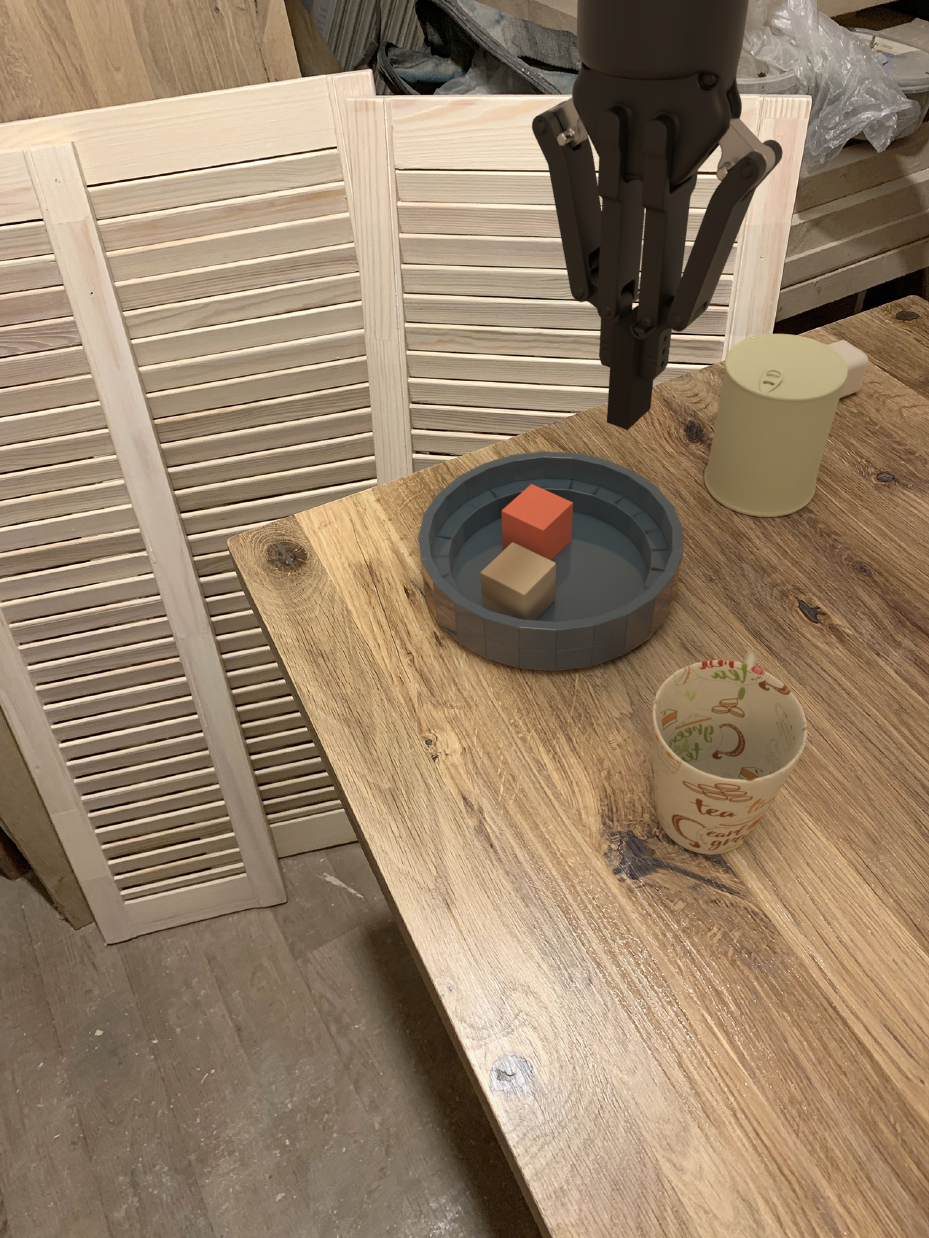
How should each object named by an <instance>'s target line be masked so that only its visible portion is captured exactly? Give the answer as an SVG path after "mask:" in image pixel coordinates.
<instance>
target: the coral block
mask: <svg viewBox="0 0 929 1238" xmlns="http://www.w3.org/2000/svg"><path fill="white" fill-rule="evenodd" d="M572 514H573V502H571V501H568V500H566V499H564V498H562V497H560V496H557V495H555V494H553V493H551V492H548V491H546V490H544V489H542V488H540V487H537V486H535V485H533V484H531V485H530V486H529V487H528V488H526V489H525V490H524V491H523V492H522V493H521V494H520V495H519V496H517V497H516V498H515V499H514V500H513V501H512V502H511V503H510V504H508V505H507V506H506V507H505V508H504V509H503V510H502V542H503V549H506V548H507V547H508V546H509V545H510V544H511V543H512V542H513V543H515V544H518V545H520V546H522V547H524V548H526V549H528V550H530V551H532V552H534V553H536V554H538V555H540V556H543V557H545V558H547V559H549V560H552V559H553V558H554V557H555V556H556V555H557V554H558V553H559V552H560V551H561V550H562V549H563V548H564V547H565V546H566V545H567V544H568V543H569V542H570V541H571V538H572Z"/></svg>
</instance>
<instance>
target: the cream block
mask: <svg viewBox="0 0 929 1238" xmlns="http://www.w3.org/2000/svg"><path fill="white" fill-rule="evenodd" d="M480 574H481V591H482V607H484V608H485V609H487V610H489V611H492V612H496V613H500V614H503V615H507V616H511V617H514V618H518V619H522V620H537V619H538V618H539V617H540V616H541V615H542V614H543V612H544V611H545V610H546V609H547V608H548V607H549V606H550V605H551V604H552V603H553V602H554V601H555V586H556V563H555V562H553V561H551V560H549V559H547V558H545V557H543V556H540V555H538V554H536V553H534V552H532V551H530V550H528V549H526V548H524V547H522V546H520V545H518V544H515V543H513V542H512V543H511V544H510V545H509V546H508V547H507V548H506V549H505V550H503V551H502V552H501V553H500V554H499V555H498V556H497V557H496V558H495V559H494V560H493V561H492V562H491V563H490V564H489V565H488V566H487V567H486V568H484V569H483V570H482V571H481V573H480Z"/></svg>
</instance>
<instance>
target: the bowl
mask: <svg viewBox="0 0 929 1238" xmlns="http://www.w3.org/2000/svg"><path fill="white" fill-rule="evenodd" d="M531 484H533V485H535V486H537V487H540V488H542V489H544V490H546V491H548V492H551V493H553V494H555V495H557V496H560V497H562V498H564V499H566V500H568V501H571V502H573V514H572V538H571V541H570V542H569V543H568V544H567V545H566V546H565V547H564V548H563V549H562V550H561V551H560V552H559V553H558V554H557V555H556V556H555V557H554V558H553V559H552V560H551V561H553V562H555V563H556V586H555V601H554V602H553V603H552V604H551V605H550V606H549V607H548V608H547V609H546V610H545V611H544V612H543V614H542V615H541V616H540V617H539V618H538V619H537V620H522V619H518V618H514V617H511V616H507V615H503V614H500V613H496V612H492V611H489V610H487V609H485V608H484V607H482V591H481V574H480V573H481V571H482V570H483V569H484V568H486V567H487V566H488V565H489V564H490V563H491V562H492V561H493V560H494V559H495V558H496V557H497V556H498V555H499V554H500V553H501V552H502V551H503V550H505V549H503V542H502V510H503V509H504V508H505V507H506V506H507V505H508V504H510V503H511V502H512V501H513V500H514V499H515V498H516V497H517V496H519V495H520V494H521V493H522V492H523V491H524V490H525V489H526V488H528V487H529V486H530V485H531ZM417 539H418V549H419V555H420V556H419V557H420V564H421V572H422V573H421V574H422V580H423V588H424V596H425V601H426V603H427V605H428V607H429V609H430V611H431V613H432V615H433V617H434V619H435V621H436V623H437V624H438V625H439V626H440V627H441V628H442V629H443V630H444V631H445V632H446V633H447V634H448V635H449V636H451V637H452V639H453V640H454V641H456V642H457V643H458V644H459V645H461V646H462V647H463V648H466V649H468V650H470V651H471V652H472V653H475V654H477V655H478V656H480V657H482V658H484V659H487V660H490V661H493V662H497V663H500V664H503V665H507V666H510V667H513V668H517V669H521V670H523V669H524V670H536V671H537V670H538V671H550V672H555V671H556V672H560V671H567V670H574V669H582V668H590V667H594V666H597V665H600V664H603V663H606V662H609V661H612V660H614V659H618V658H620V657H623V656H625V655H627V654H628V653H629V652H631V651H632V650H634V649H635V648H637V647H638V646H640V645H642V644H643V643H645V642H646V641H648V640H650V639H651V638H652V636H653V635H654V633H655V632H657V630H658V629H659V628H660V626H661V625H662V624H663V623H664V622H665V621H666V619H667V618H668V617H669V615H670V612H671V609H672V607H673V604H674V601H675V599H676V595H677V593H678V587H679V581H680V574H681V568H682V561H683V556H684V528H683V526H682V523H681V521H680V519H679V515H678V513H677V511H676V509H675V507H674V505H673V503H671V502H670V500H669V499H668V498H667V497H666V495H665V494H664V493H663V492H662V491H661V489H659V487H658V486H656V485H655V484H654V483H652V482H651V481H649V480H648V479H647V478H645V477H644V476H643V475H641V474H639V473H637V472H636V471H635V470H633V469H631V468H628V467H626V466H623V465H621V464H618V463H616V462H614V461H611V460H608V459H606V458H602V457H598V456H594V455H590V454H589V455H588V454H583V453H578V452H565V451H562V452H561V451H543V450H542V451H535V452H534V451H533V452H527V453H517V454H512V455H507V456H504V457H500V458H497V459H494V460H490V461H487V462H484V463H482V464H480V465H478V466H475V467H474V468H472V469H470V470H468V471H465V472H464V473H462V474H460V475H459V476H457V477H456V478H455V479H454V480H452V481H451V482H450V483H449V484H447V485H446V486H445V487H443V488H442V490H440V491H439V492H438V493H437V494H436V495H435V496H434V498H433V500H432V501H431V503H430V504H429V505H428V507H427V509H426V510H425V511H424V513H423V516H422V519H421V524H420V528H419V531H418V536H417Z"/></svg>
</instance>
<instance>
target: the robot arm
mask: <svg viewBox="0 0 929 1238" xmlns="http://www.w3.org/2000/svg"><path fill="white" fill-rule="evenodd" d="M749 2H750V0H577V5H576V6H577V9H576V12H577V13H576V52H577V55H578V57H579V59H580V61H581V63H580V68H579V71H578V73H577V76H576V78H575V80H574V82H573V85H572V90H571V97H570V98H568V99H567V100H564V101H561V102H559V103H558V104H555V105H554V106H552V107H550V108H548V109H547V110H545V111H543V112H541V113H539V114H538V115H536V116H535V117H534V118H533V119H532V122H531V130H532V133H533V135H534V137H535V140H536V142H537V144H538V146H539V148H540V150H541V153H542V155H543V157H544V159H545V162H546V163H547V167H548V172H549V173H548V174H549V178H550V182H551V189H552V195H553V200H554V207H555V211H556V217H557V222H558V226H559V227H558V229H559V234H560V239H561V245H562V251H563V256H564V261H565V268H566V274H567V280H568V283H569V290H570V293H571V296H572V298H573V299H574V300H575V301H576V302H579V303H584V302H588V303H589V304H590V305H592V306H593V307H594V308H595V309H596V310H597V311H596V312H597V314H598V316H599V317H600V329H599V331H600V332H599V351H598V357H599V361H600V364H601V366H604V367H607V368H609V378H608V396H607V408H606V409H607V410H606V423H607V424H610V425H612V426H615V427H618V428H620V429H623V430H626V431H629V430H630V429H632V427H633V426H634V425H635V424H636V423H637V422H638V421H639V420H640V419H641V418H643V417H644V416H645V415H646V414H647V413H648V412H649V411H650V410H651V407H652V398H653V386H654V380H655V379H657V378H658V377H659V376H660V375H662V373H663V372H664V371H665V370H666V368H667V366H668V365H669V359H670V356H669V355H670V348H671V340H672V331H675V332H677V333H679V332H683V331H685V330H686V329H687V328H688V327H689V326H691V325H692V324H693V323H694V322H695V321H696V320H697V319H698V318H699V317H701V316H702V315H703V314H704V313H705V312H706V311H707V310H708V309H709V307H710V304H711V302H712V299H713V296H714V294H715V291H716V290H717V287H718V284H719V282H720V279H721V276H722V274H723V272H724V269H725V267H726V265H727V262H728V259H729V257H730V254H731V252H732V249H733V247H734V244H735V242H736V239H737V237H738V234H739V232H740V229H741V227H742V225H743V222H744V219H745V217H746V214H747V212H748V210H749V207H750V205H751V202H752V200H753V197H754V195H755V193H756V190H757V188H758V187H759V186H760V185H761V184H762V182H764V180H766V178H767V177H768V176H769V175H770V173H771V172H772V171H773V170H774V169H775V168H776V167H777V166H778V165H779V164H780V162H781V160H782V159H783V153H784V152H783V148H782V146H781V143H780V142H778V141H777V140H775V139H767V140H764V141H763V142H762V141H761V140H760V139H759V138H758V137H757V136H756V134H755V133H753V131H752V130H751V129H750V128H749V126H747V125H746V124H745V123H744V122H743V121H742V120H741V117H742V111H743V102H742V98H741V97H742V96H741V94H740V91H739V87H738V81H737V73H738V66H739V62H740V58H741V56H742V50H743V47H744V46H743V45H744V38H745V30H746V24H747V16H748V8H749ZM592 146H593V148H594V151H595V152H596V154H597V157H598V172H597V171H596V165H595V164H596V163H595V158H594V152H593V149H592ZM718 147H720V151H721V152H720V153H721V154H720V158H719V161H718V162H717V167H716V168H717V169H716V172H715V176H716V178H717V180H719V181H720V182H719V184H718V185H717V187H716V188H715V190H714V191H713V193H712V195H711V197H710V199H709V201H708V204H707V205H706V209H705V212H704V213H703V214H704V215H703V217H702V220H701V223H700V225H699V228H698V231H697V234H696V237H695V239H694V242H693V245H692V248H691V249H690V253H689V256H688V259H687V261H686V264H685V267H684V259H685V257H684V256H685V249H686V241H687V231H688V223H689V216H690V215H689V214H690V205H691V197H692V194H693V192H694V191H695V189H696V186H697V180H698V175H699V174H698V173H699V169H700V168H701V167H702V166H703V165H704V164H705V162H707V160H708V159H709V158H710V157H711V155H712V154H713V153H714V152H715V151H716V149H717V148H718ZM597 173H598V174H597ZM597 175H598V176H597ZM683 268H684V269H683ZM636 301H638V302H637V305H636V306H634V305H633V304H634V303H635V302H636ZM633 306H634V307H633Z"/></svg>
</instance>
